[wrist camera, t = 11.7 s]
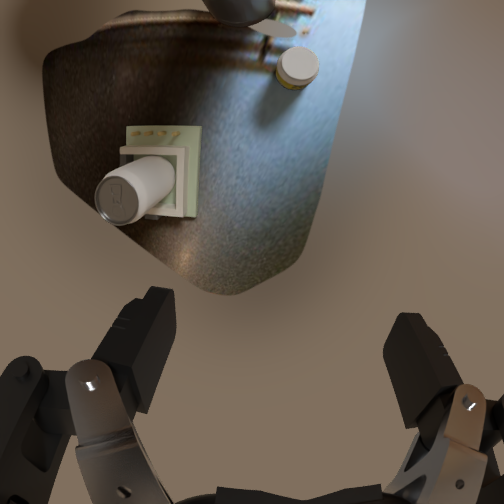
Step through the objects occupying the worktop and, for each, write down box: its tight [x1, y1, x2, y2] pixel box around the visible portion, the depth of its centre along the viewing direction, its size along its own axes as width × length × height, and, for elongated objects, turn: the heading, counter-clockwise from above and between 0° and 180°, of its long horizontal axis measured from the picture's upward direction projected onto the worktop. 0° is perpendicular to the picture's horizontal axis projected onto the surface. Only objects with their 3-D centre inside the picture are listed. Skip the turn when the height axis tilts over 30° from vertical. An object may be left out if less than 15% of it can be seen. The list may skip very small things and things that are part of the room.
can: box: [95, 155, 175, 226], centre depth 33 cm, size 6×6×12 cm
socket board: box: [120, 125, 202, 220], centre depth 38 cm, size 13×11×4 cm
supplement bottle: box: [276, 47, 319, 90], centre depth 29 cm, size 5×5×8 cm
